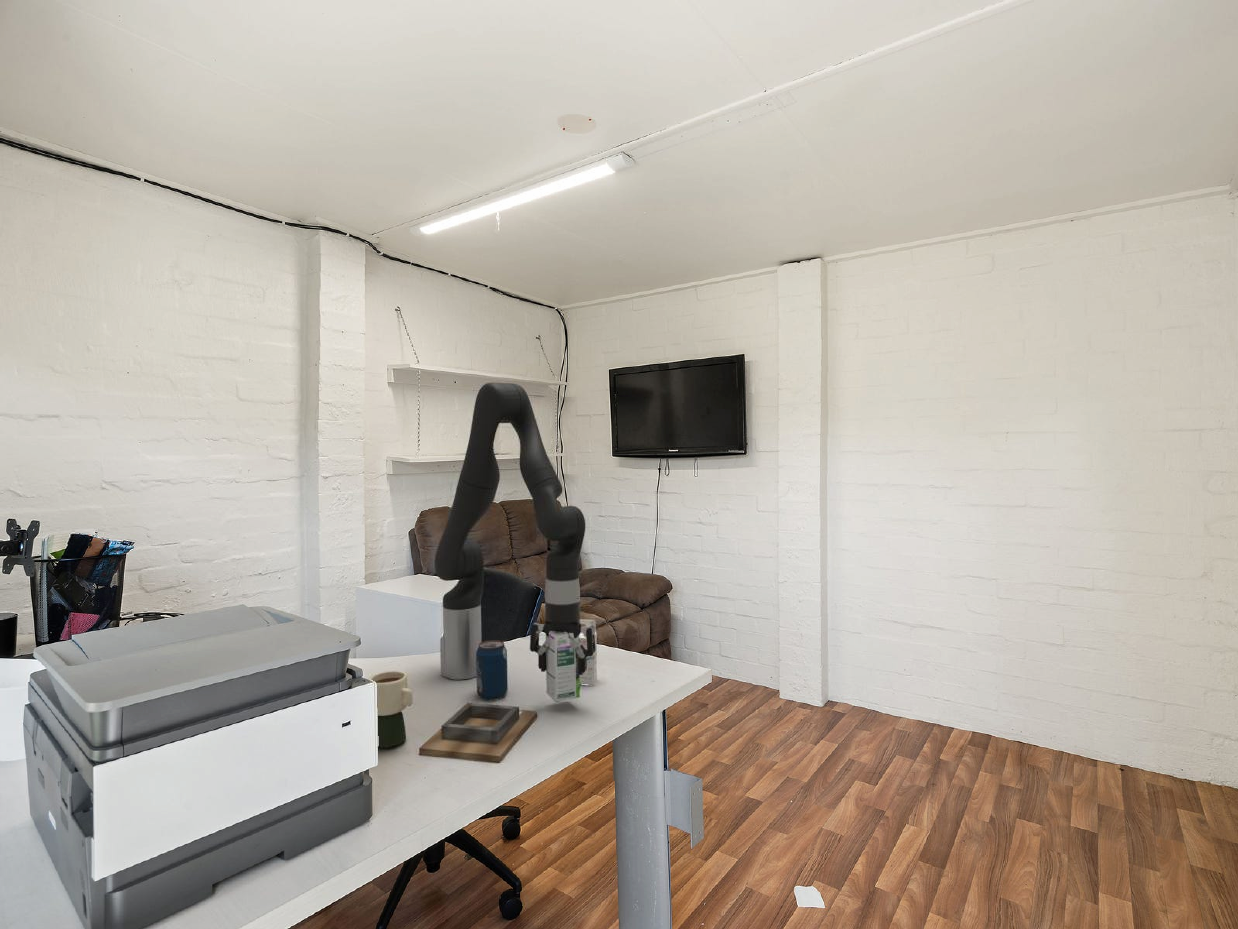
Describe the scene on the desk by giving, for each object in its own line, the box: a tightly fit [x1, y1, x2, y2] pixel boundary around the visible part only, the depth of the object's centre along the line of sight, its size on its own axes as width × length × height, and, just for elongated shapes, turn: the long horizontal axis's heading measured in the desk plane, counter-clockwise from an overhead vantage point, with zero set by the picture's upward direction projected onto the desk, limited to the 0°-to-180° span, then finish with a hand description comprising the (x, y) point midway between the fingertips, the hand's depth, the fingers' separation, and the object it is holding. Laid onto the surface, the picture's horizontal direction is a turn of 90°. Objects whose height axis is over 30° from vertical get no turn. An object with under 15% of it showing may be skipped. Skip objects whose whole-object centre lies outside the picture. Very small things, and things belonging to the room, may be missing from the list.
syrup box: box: [545, 631, 581, 703], centre depth 142 cm, size 6×6×14 cm
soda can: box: [475, 639, 509, 702], centre depth 149 cm, size 7×7×12 cm
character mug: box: [368, 670, 413, 748], centre depth 126 cm, size 11×7×13 cm, turn 70°
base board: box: [418, 702, 538, 763], centre depth 129 cm, size 16×20×4 cm
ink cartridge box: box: [579, 618, 598, 686], centre depth 157 cm, size 9×5×15 cm, turn 84°
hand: (562, 672), depth 142 cm, fingers closed on syrup box, 8 cm apart
